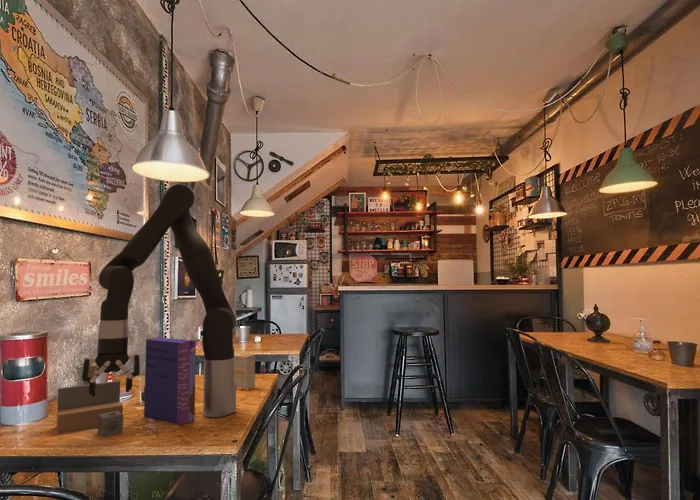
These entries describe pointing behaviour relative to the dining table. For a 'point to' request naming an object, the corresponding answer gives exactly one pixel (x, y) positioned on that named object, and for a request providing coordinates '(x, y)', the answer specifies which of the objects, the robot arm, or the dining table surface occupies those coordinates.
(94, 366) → the handle
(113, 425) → the dice cube
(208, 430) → the dining table surface
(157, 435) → the dining table surface
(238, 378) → the supplement box
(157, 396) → the cereal box
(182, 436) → the dining table surface
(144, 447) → the dining table surface
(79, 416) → the board
